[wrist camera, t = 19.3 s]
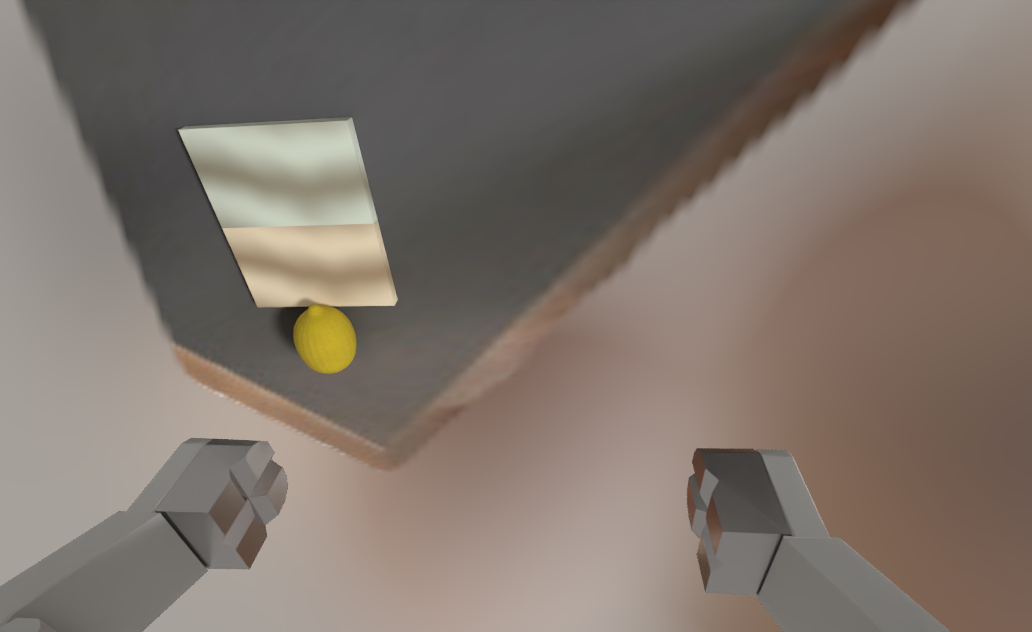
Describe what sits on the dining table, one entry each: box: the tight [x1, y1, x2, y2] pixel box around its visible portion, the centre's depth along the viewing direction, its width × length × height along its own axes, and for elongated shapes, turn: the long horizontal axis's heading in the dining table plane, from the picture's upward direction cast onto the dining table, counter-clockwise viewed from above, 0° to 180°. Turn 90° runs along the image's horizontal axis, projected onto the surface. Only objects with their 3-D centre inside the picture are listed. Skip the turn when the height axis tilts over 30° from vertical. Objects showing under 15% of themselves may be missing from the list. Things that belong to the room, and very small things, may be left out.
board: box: [178, 117, 397, 307], centre depth 44 cm, size 17×14×1 cm
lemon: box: [293, 304, 356, 373], centre depth 48 cm, size 6×6×8 cm
